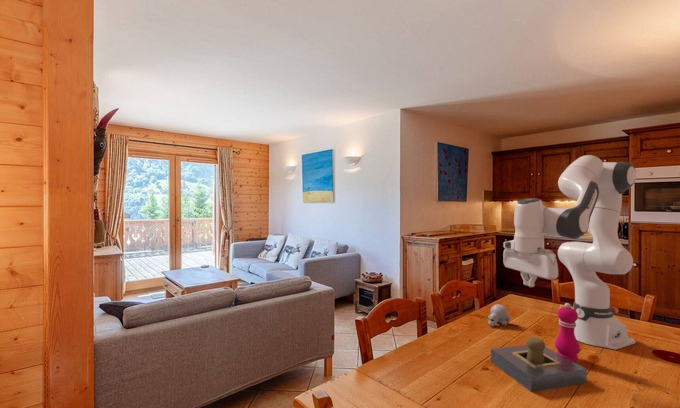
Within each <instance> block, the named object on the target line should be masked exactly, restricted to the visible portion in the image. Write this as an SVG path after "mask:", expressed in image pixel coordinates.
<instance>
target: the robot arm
mask: <svg viewBox="0 0 680 408" xmlns="http://www.w3.org/2000/svg"><path fill="white" fill-rule="evenodd" d="M636 178H637V171H636V168H635V166H634V165H633V164H632V163H630V162H627V161H618V162H615V161H614V162H613V161H611V162H610V161H609V162H608V161H606V162H605V161H603V160H602V159H600V158H599V157H597V156H595V155H592V154H590V155H589V154H586V155H583V156H579V157H578V158H577V159H575V160H574V161H572V163H570V164H569V165H568V166H567V167H566V168H565V170H564V171H563V172H562V173H561V174H560V176H559V178H558V181H557V186H558V188H559V191H560V192H561V193H562V194H564V195H565V196H566V197H568V198H569V199H573V200H576V202H575V204H574V206H570V207H548V206H545V205H544V204H543V202H542V199H541V198H535V197H531V198H530V197H529V198H523V199H519V200H518V201H517V202H515V203H516V204H515V208H514V212H513V213H514V215H513V225H514V229H515V231H514V235H513V239H512V240H508V241H504V242H502V243H503V244H502V245H503V248H504V250H503V253H502V256H503V259H502V260H503V261H502V262H503V265H504V267H505V268H506V269H507V268H508V269H512V270H515V271H518V272H520V276H521V279H522V280H523V282H522V283H523V285H524V286H527V287H529V288H534V287H535V282H536V281H537V279H538V277H539V278H541V279H546V280H556V279H557V278H558V277H559V267H558V266H559V265H558V262H557V261H558V260H559V261H560V262H561V263H562V264H563V265H564V266H565V267H566V268H567V271H568V272H569V273H570V275H571V277H572V280H573V284H574V301H573V309H574V310H575V311H576V312H577V314H578V319H577V320H576V321H575V322H576V327H575V328H574V334H575V337H576V340H577V342H580V343H583V344H587V345H590V346H593V347H594V346H595V347H599V348H600V347H601V348H607V349H611V350H615V351H616V350H619V349H623V348H625V347H628V346H631V345H634V344H636V343H637V342H636V340H635V339H634V338H632V337H631V336H629V335H628V328H627V326H626V325H625V324H624V323H623V322H621V321H620V320H619V319H617V318H616V317H615V316H614V313H615V314H618V312H619V308H618V307H614V306H610V305H611V304H610V303H611V302H610V300H611V297H610V296H611V291H610V288H609V285H607V283H605V282H604V281H603V280H602V279H600V278H599V275H597V273H601V274H602V273H603V274H607V275H626V274H628V272H630V271H631V269H632V268H633V266H634V265H633V264H634V258H633V255H632V254H631V252H630V251H628V249H626V247H625V246H623V244H622V243H621V241H620V239H619V235H618V232H619V231H618V229H619V223H620V217H621V211H622V203H623V195H622V194H624V193H626V191H627V190H629V189H631V188H632V186H633V185H634V184H635V182H636V181H637V180H636ZM585 234H589V235H591V236H592V242H591V243H590V242H583V241H567V242H563V243H561V245H560V246H559V247H558V248H557V249H558V250H557V255H556V254H555V253H554V251H552V249H548V248H547V249H546V248H545V236H544V235H546V236H553V237H561V238H565V239H566V238H567V239H572V240H576V239H577V240H578V239H580V238H581V237H582V236H584V235H585ZM557 257H558V260H557ZM596 272H597V273H596Z"/></svg>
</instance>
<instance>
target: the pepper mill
mask: <svg viewBox="0 0 680 408" xmlns="http://www.w3.org/2000/svg"><path fill="white" fill-rule="evenodd" d="M556 313H557V317H558V324H559V325H560V330H559V334H558V335H557V337H556V339H555V342H554V347H555V348H556V350H557V351H556V353H558V354H559V355H561V356H563V357H565V358H567V359H569V360H571V361H572V362H574V363H576V364H578V362H579V356H578V354H579V353H580V351H581V348H580V344H579V341H578V340H576V337H575V334H574V328H575V327H576V322H575V321H576V320H577V319H578V314H577V312H576V311H575V310H574V308H573V307H571V304H570V303H568V302H566V303H564V306H561V307H559V308H558V310H557V312H556Z"/></svg>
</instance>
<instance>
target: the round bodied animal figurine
mask: <svg viewBox="0 0 680 408" xmlns="http://www.w3.org/2000/svg"><path fill="white" fill-rule="evenodd" d="M508 311H509V310H508V309H507V307H506V306H505V305H502V304H498V303H497V304H494V305H492V307H491V308H490V313H487V315H488V325H489V326H490V327H491V328H492V327H495V326H496V324H499V323H500V324H501V326H506V325H507V324H508V322H510V321H511V316H510V315H509V312H508Z"/></svg>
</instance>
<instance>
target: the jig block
mask: <svg viewBox="0 0 680 408" xmlns="http://www.w3.org/2000/svg"><path fill="white" fill-rule="evenodd" d="M527 353H528V346H527V344H525V345H524V344H523V345H515V346H514V345H513V346H506V347H497V348H490V363H491V364H493V365H494V366H495V367H497V368H499V369H500V370H501V371H502V372H504V373H505V374H506V375H508V376H509V377H511V379H513V380H515V381H516V382H517V383H518V384H520V385H521V386H523V387H524V388H525V389H526V390H528V391H529V392H530V393H532V392H533V393H534V392H539V391H545V390H546V391H547V390H552V389H559V388H560V389H561V388H566V387H573V386H580V385H585V384H587V372H588V371H587V368H585V367H583V366H582V365H580V364H578V363H574V362H572V361H571V360H569V359H567V358H565V357H563V356H561V355H559V354H558V353H557V351H554V350H552V349H550V348H548V347H547V346H545V348H544V350H543V355H544V362H545V364H538V365H535V364H533V363H531V362H530V361H528V360H527Z"/></svg>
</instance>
